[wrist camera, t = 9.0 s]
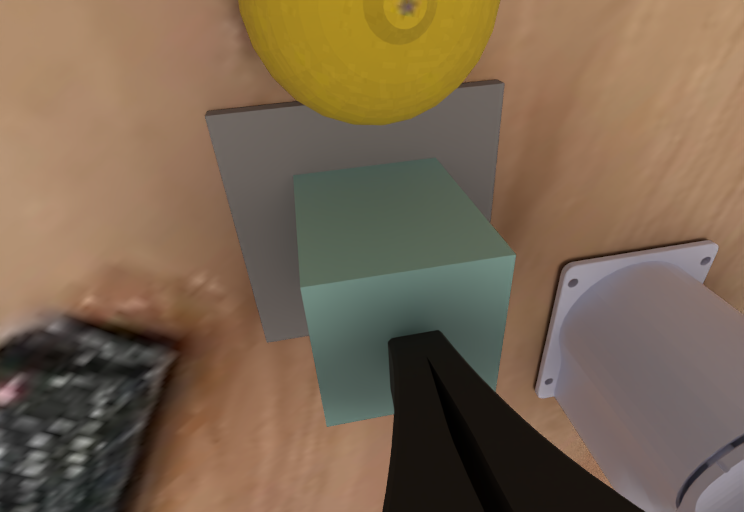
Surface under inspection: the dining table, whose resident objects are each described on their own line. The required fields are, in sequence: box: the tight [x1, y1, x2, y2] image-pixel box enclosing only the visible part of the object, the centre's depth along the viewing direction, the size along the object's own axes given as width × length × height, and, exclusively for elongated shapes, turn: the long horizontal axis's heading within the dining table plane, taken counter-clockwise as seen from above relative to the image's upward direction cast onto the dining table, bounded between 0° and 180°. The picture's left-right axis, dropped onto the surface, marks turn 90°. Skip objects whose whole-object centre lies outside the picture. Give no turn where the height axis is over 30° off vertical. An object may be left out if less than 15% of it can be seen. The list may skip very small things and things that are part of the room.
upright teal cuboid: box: [293, 158, 516, 427], centre depth 14 cm, size 5×5×7 cm
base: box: [205, 80, 504, 343], centre depth 17 cm, size 10×10×1 cm
